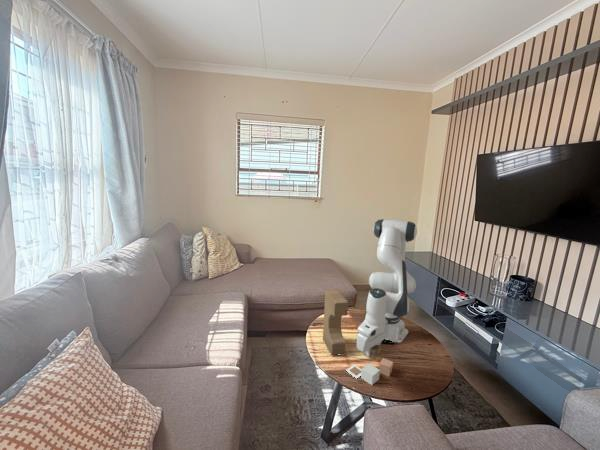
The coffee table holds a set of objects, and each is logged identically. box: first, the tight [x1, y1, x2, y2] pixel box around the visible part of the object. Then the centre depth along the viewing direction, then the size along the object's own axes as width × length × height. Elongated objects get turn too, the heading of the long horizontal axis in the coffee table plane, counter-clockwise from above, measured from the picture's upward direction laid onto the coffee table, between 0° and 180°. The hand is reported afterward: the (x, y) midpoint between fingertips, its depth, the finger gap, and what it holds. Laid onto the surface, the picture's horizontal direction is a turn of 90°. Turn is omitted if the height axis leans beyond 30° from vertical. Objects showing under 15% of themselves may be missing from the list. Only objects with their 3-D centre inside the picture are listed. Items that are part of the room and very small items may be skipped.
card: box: [345, 364, 362, 380], centre depth 132 cm, size 7×7×1 cm
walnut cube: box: [363, 344, 382, 361], centre depth 126 cm, size 5×5×5 cm
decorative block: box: [322, 289, 349, 356], centre depth 148 cm, size 15×8×30 cm, turn 14°
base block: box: [360, 362, 381, 386], centre depth 128 cm, size 6×6×5 cm
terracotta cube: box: [378, 357, 394, 377], centre depth 133 cm, size 5×5×5 cm
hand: (372, 352), depth 126 cm, fingers closed on walnut cube, 5 cm apart
